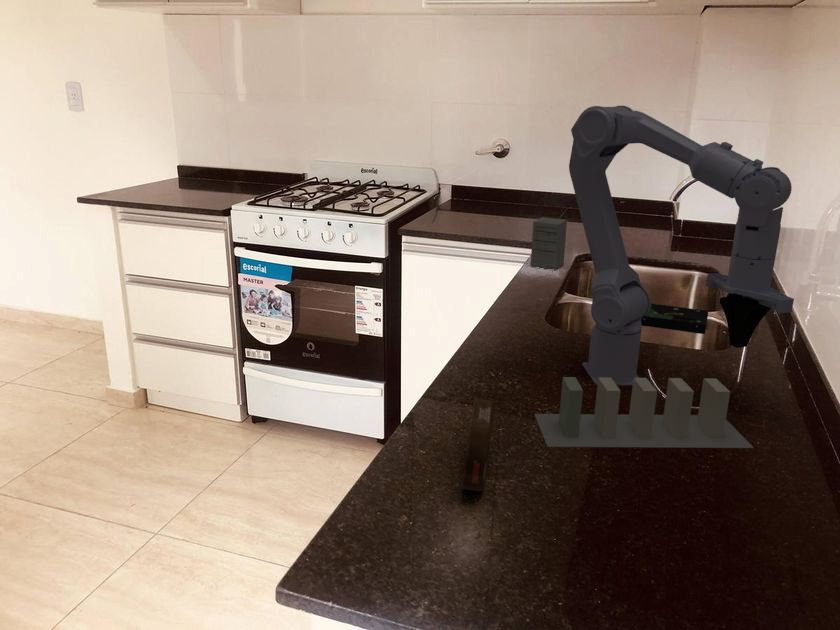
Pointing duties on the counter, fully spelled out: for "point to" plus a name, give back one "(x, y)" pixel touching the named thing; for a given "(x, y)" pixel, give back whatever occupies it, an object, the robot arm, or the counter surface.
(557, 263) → the grey drawer cabinet
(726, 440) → the mat
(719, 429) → the domino
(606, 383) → the domino
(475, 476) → the dark translucent bar
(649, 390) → the domino
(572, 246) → the counter surface
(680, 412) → the domino
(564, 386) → the domino
